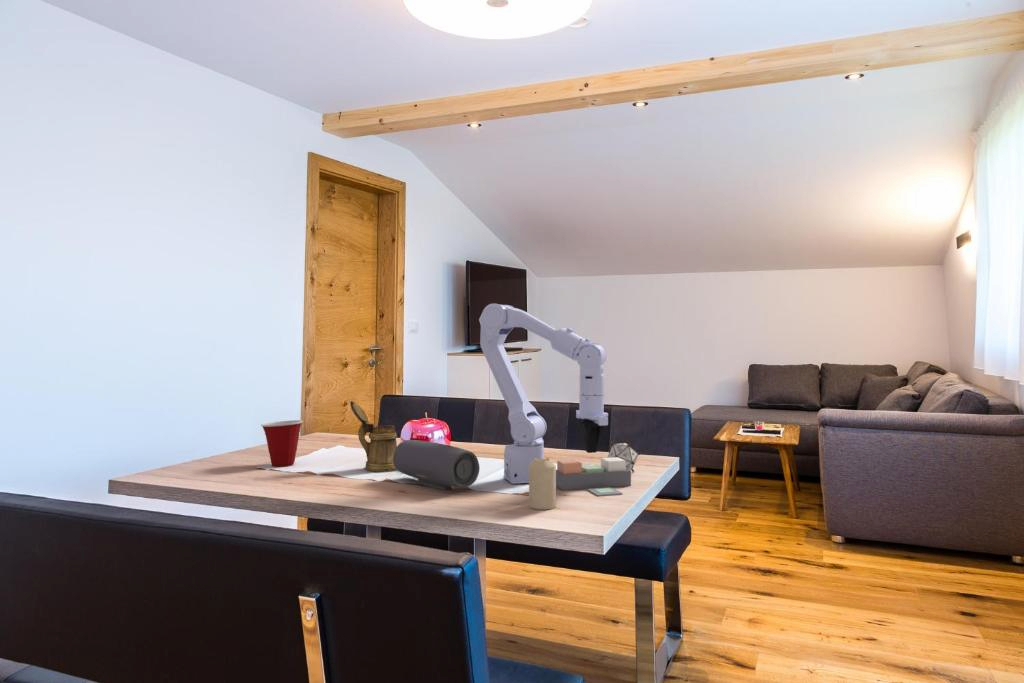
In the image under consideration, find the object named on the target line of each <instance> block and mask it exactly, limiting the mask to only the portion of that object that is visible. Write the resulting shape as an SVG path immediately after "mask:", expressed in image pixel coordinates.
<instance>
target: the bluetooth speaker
mask: <svg viewBox="0 0 1024 683" xmlns="http://www.w3.org/2000/svg"><path fill="white" fill-rule="evenodd" d="M393 463H394V466H395V468H396V469H397V470H396V471H397V472H400V473H401V474H403V475H406V476H409V477H412V478H414V479H417V480H418V483H419V484H421V485H423V486H427V487H432V488H435V489H439V490H449V489H452V488H459V489H460V488H462V489H463V488H468V487H471V486H472V485H473V484H474V483H475V482H476V480H477V479H478V477H479V475H480V474H479V473H480V463H479V459H478V457H477V456H476V454H475V453H474V452H472V451H470V450H468V449H464V448H460V447H457V446H452V445H448V444H444V443H439V442H435V441H434V442H432V441H426V440H420V439H419V440H418V439H417V440H416V439H406V440H402V441H400V443H398V444H397V448H396V450H395V452H394V456H393Z"/></svg>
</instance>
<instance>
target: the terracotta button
mask: <svg viewBox="0 0 1024 683" xmlns="http://www.w3.org/2000/svg"><path fill="white" fill-rule="evenodd" d="M556 462H557V463H556V464H557V465H556V470H557V471H558V472H560V473H561V474H577V473H582V466H583V464H582V462H580V461H578V460H576V459H564V460H557V461H556Z"/></svg>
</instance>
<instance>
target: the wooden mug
mask: <svg viewBox="0 0 1024 683" xmlns="http://www.w3.org/2000/svg"><path fill="white" fill-rule="evenodd" d="M349 403H350V409H351V411H352V413H353V414H354V416H355V417H356V419H357V420H358V421H359V422H360V423H361V424H360V426H359V428H358V432H357V433H358V434H357V436H358V441H359V442H360V444H361V446H362V449H363V450H364V451H365V453H366V460H367V461H365V469H366V470H367V471H369V472H375V473H376V472H377V473H380V472H381V473H384V472H394V471H398V470H397V469H396V468H395V466H394V463H393V456H394V452H395V450H396V448H397V446H398V444H397V438H398V435H397V431H395V430H396V428H395V425H378V426H375V425H374V423H370V422H369V419H368V416H367V414H366V412H365V410H363V408H362V407H361V406H360V405H359V404H357V403H356V402H354V401H353V400H351V401H350V402H349ZM368 433H369V434H368ZM367 434H368V438H369V439H370V441H367V439H366V435H367Z"/></svg>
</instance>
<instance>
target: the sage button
mask: <svg viewBox="0 0 1024 683" xmlns="http://www.w3.org/2000/svg"><path fill="white" fill-rule="evenodd" d="M582 471H583V472H585V473H594V472H604V468H602V467H601V465H598V464H588V465H587V464H586V465H585V464H584V465H583V464H582Z"/></svg>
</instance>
